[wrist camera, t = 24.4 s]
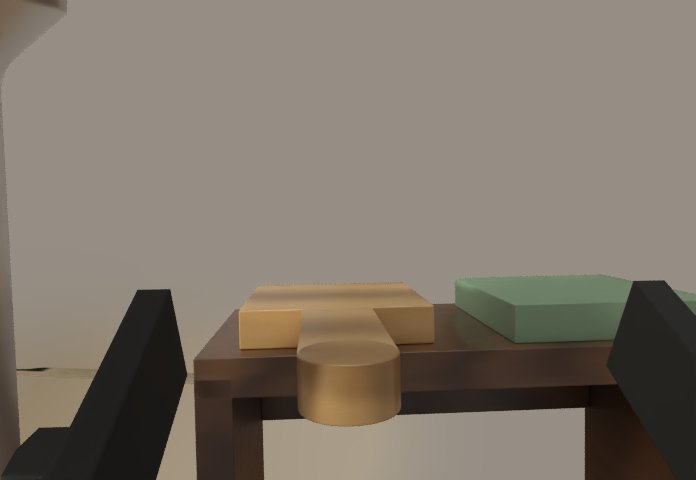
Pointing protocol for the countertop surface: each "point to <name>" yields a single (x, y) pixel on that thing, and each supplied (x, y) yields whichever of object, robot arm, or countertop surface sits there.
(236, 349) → the walnut stand
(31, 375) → the countertop surface
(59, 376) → the countertop surface
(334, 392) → the beech board
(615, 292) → the green board
